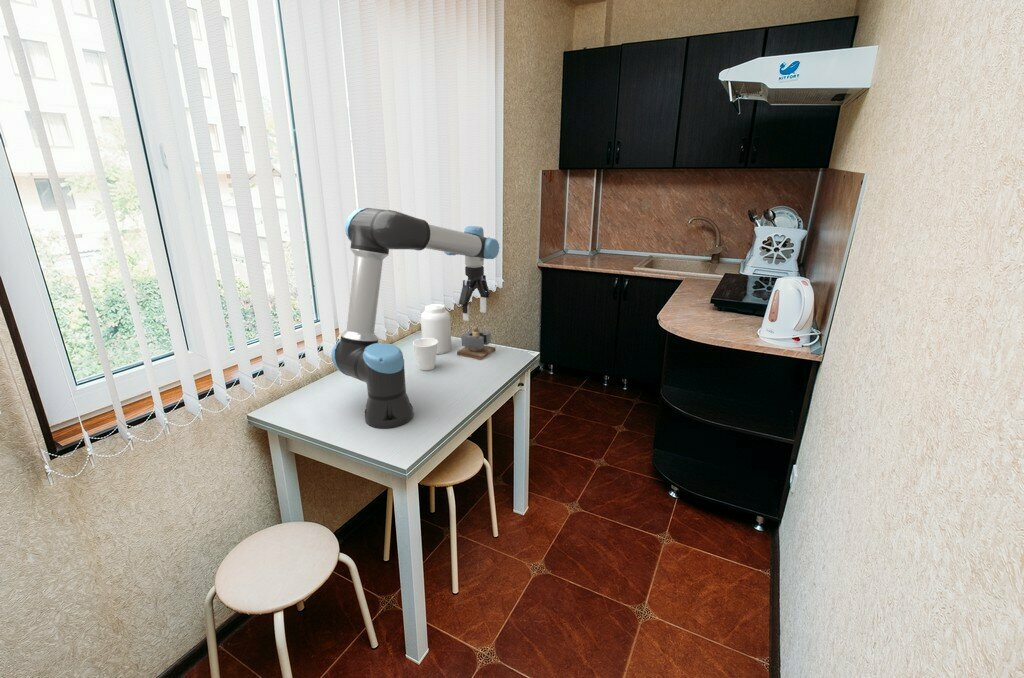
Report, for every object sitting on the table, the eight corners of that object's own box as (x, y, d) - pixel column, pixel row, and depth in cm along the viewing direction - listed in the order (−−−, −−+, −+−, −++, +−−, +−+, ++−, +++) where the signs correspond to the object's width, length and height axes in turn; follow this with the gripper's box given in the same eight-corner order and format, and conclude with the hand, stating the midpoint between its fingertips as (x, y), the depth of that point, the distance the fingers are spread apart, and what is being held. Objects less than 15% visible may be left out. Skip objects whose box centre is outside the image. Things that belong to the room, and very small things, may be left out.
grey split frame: (490, 342, 205) (490, 332, 203) (479, 349, 197) (479, 339, 196) (472, 339, 208) (472, 329, 207) (461, 345, 201) (461, 335, 199)
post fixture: (481, 360, 197) (480, 332, 192) (456, 354, 202) (456, 328, 198) (495, 350, 207) (495, 324, 202) (471, 345, 212) (471, 320, 208)
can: (456, 346, 211) (454, 303, 204) (444, 356, 200) (441, 311, 193) (430, 343, 215) (428, 300, 208) (417, 353, 204) (414, 308, 197)
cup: (437, 373, 184) (435, 346, 180) (411, 372, 184) (409, 346, 181) (441, 363, 193) (440, 337, 190) (417, 362, 194) (415, 337, 190)
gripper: (465, 272, 179) (466, 325, 186) (497, 262, 200) (497, 310, 207) (449, 269, 182) (450, 322, 189) (482, 260, 203) (482, 308, 210)
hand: (475, 316), depth 198 cm, fingers open, 13 cm apart
